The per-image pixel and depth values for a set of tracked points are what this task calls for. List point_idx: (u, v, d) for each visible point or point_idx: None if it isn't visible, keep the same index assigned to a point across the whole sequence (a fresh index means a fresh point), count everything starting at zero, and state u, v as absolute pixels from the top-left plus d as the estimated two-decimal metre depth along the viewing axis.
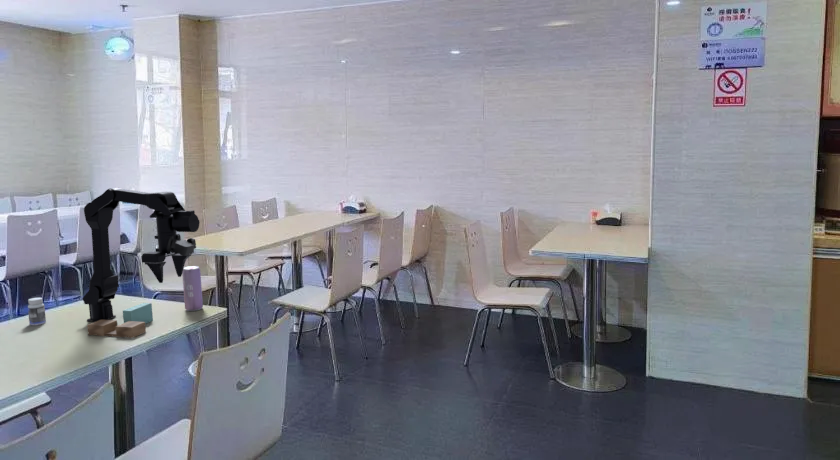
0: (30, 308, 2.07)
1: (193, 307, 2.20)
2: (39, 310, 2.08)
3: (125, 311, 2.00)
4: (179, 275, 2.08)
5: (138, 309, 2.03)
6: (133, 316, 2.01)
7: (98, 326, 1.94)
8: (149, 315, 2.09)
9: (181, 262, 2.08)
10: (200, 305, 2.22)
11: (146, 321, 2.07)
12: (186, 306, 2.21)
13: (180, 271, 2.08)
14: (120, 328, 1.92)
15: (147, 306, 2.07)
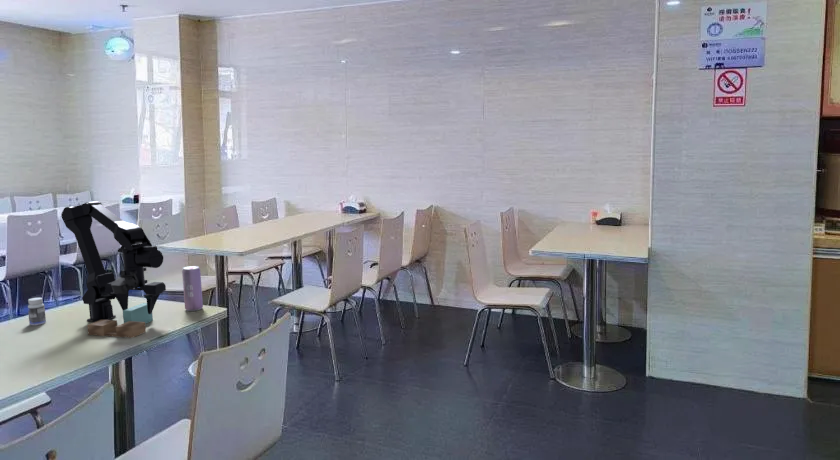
0: (30, 308, 2.07)
1: (193, 307, 2.20)
2: (39, 310, 2.08)
3: (125, 311, 2.00)
4: None
5: (138, 309, 2.03)
6: (133, 316, 2.01)
7: (98, 326, 1.94)
8: (149, 314, 2.09)
9: None
10: (200, 305, 2.22)
11: (146, 321, 2.07)
12: (186, 306, 2.21)
13: None
14: (120, 328, 1.92)
15: None
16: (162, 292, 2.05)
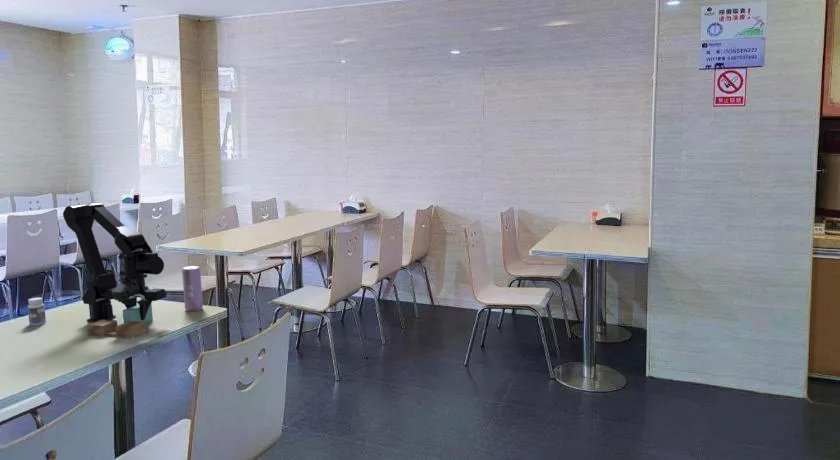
0: (30, 308, 2.07)
1: (193, 307, 2.20)
2: (39, 310, 2.08)
3: (125, 311, 2.00)
4: None
5: (138, 309, 2.03)
6: (133, 316, 2.01)
7: (98, 326, 1.94)
8: (149, 314, 2.08)
9: None
10: (200, 305, 2.22)
11: (146, 321, 2.07)
12: (186, 306, 2.21)
13: None
14: (120, 328, 1.92)
15: None
16: None
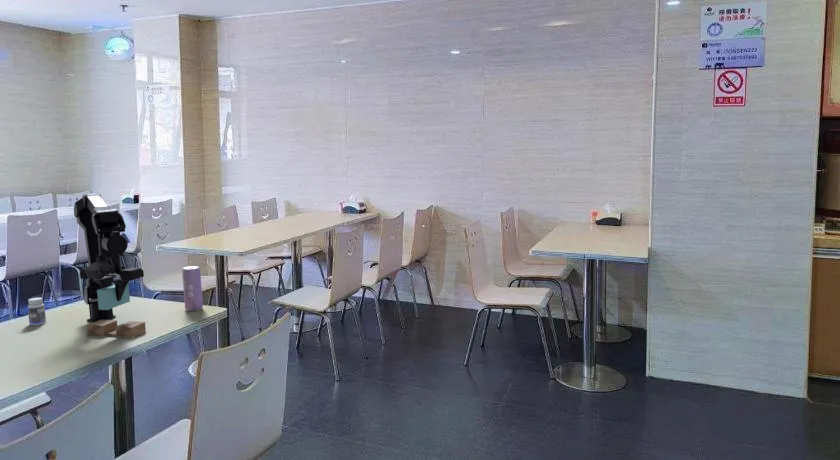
0: (30, 308, 2.07)
1: (193, 307, 2.20)
2: (39, 310, 2.08)
3: (99, 290, 1.90)
4: None
5: (113, 289, 1.93)
6: (108, 296, 1.90)
7: (98, 326, 1.94)
8: (126, 295, 1.98)
9: None
10: (200, 305, 2.22)
11: (122, 302, 1.96)
12: (186, 306, 2.21)
13: None
14: (120, 328, 1.92)
15: None
16: None
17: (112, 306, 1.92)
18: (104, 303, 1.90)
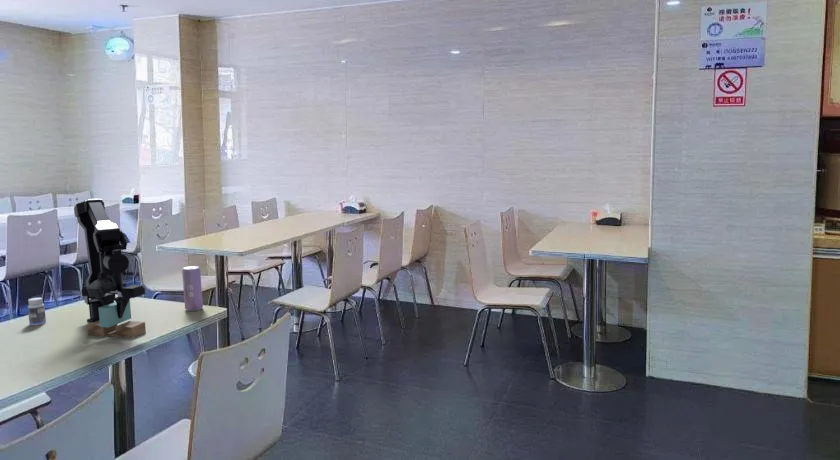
0: (30, 308, 2.07)
1: (193, 307, 2.20)
2: (39, 310, 2.08)
3: (101, 308, 1.90)
4: None
5: (115, 306, 1.93)
6: (109, 314, 1.91)
7: (98, 326, 1.94)
8: (127, 312, 1.98)
9: None
10: (200, 305, 2.22)
11: (124, 319, 1.97)
12: (186, 306, 2.21)
13: None
14: (120, 328, 1.92)
15: None
16: None
17: (113, 323, 1.93)
18: (105, 321, 1.91)
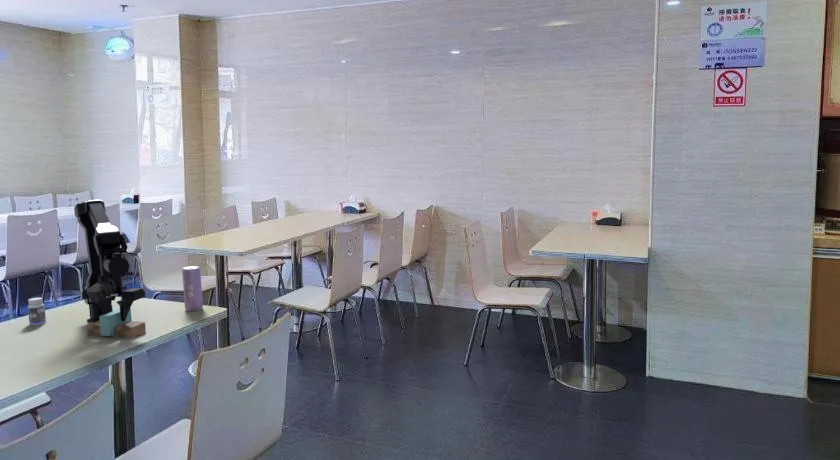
0: (30, 308, 2.07)
1: (193, 307, 2.20)
2: (39, 310, 2.08)
3: (102, 317, 1.91)
4: None
5: (116, 314, 1.94)
6: (110, 322, 1.91)
7: (98, 326, 1.94)
8: (128, 320, 1.99)
9: None
10: (200, 305, 2.22)
11: None
12: (186, 306, 2.21)
13: None
14: (120, 328, 1.92)
15: None
16: None
17: (114, 332, 1.93)
18: (106, 330, 1.91)
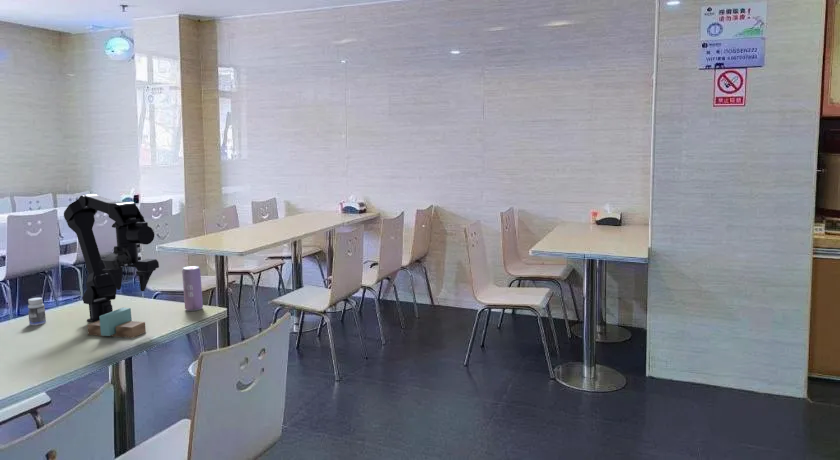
0: (30, 308, 2.07)
1: (193, 307, 2.20)
2: (39, 310, 2.08)
3: (102, 317, 1.91)
4: None
5: (116, 314, 1.94)
6: (110, 322, 1.91)
7: (98, 326, 1.94)
8: (128, 320, 1.99)
9: None
10: (200, 305, 2.22)
11: None
12: (186, 306, 2.21)
13: None
14: (120, 328, 1.92)
15: (125, 311, 1.98)
16: (155, 269, 2.01)
17: (114, 332, 1.93)
18: (106, 330, 1.91)
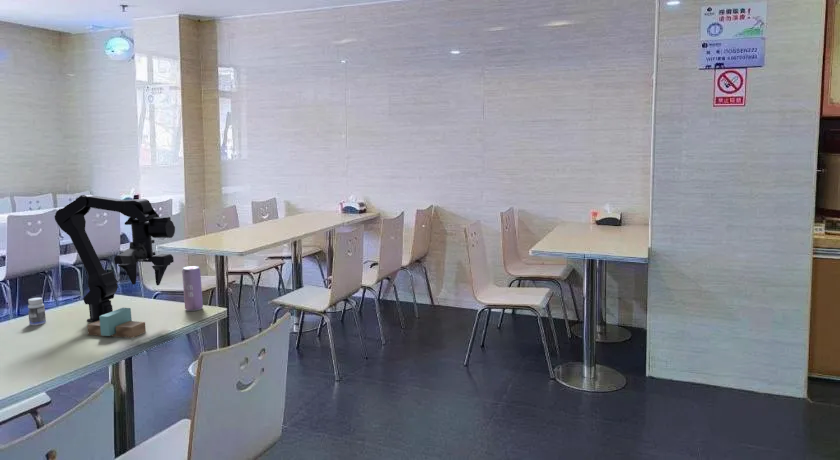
0: (30, 308, 2.07)
1: (193, 307, 2.20)
2: (39, 310, 2.08)
3: (102, 317, 1.91)
4: None
5: (116, 314, 1.94)
6: (110, 322, 1.91)
7: (98, 326, 1.94)
8: (128, 320, 1.99)
9: None
10: (200, 305, 2.22)
11: None
12: (186, 306, 2.21)
13: None
14: (120, 328, 1.92)
15: (125, 311, 1.98)
16: None
17: (114, 332, 1.93)
18: (106, 330, 1.91)
